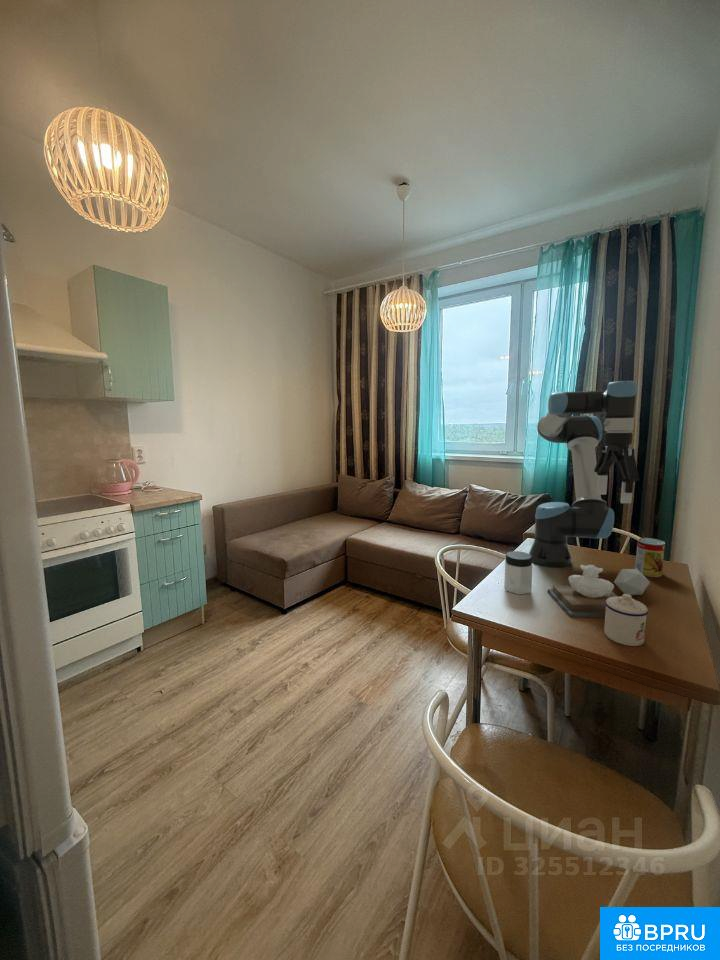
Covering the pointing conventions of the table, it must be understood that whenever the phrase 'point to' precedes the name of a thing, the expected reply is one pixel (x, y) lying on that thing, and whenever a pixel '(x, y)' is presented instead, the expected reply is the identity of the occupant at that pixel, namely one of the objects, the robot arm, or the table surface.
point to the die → (631, 581)
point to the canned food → (650, 556)
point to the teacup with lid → (625, 620)
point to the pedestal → (579, 602)
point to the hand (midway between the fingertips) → (613, 498)
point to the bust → (591, 583)
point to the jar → (518, 572)
